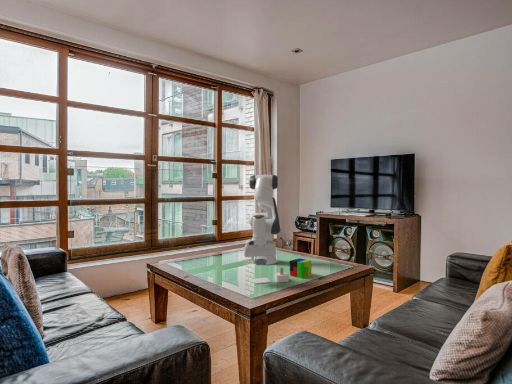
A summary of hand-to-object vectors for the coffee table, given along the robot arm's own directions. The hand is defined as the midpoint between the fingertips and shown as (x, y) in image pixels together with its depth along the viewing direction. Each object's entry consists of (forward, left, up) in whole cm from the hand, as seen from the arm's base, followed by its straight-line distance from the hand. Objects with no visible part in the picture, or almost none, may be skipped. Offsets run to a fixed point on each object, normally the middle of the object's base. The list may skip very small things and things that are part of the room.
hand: (260, 263), depth 208 cm
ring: (0, 0, 0) cm, 0 cm away
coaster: (0, 0, -11) cm, 11 cm away
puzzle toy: (-5, +28, -12) cm, 31 cm away
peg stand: (+2, +13, -11) cm, 17 cm away
